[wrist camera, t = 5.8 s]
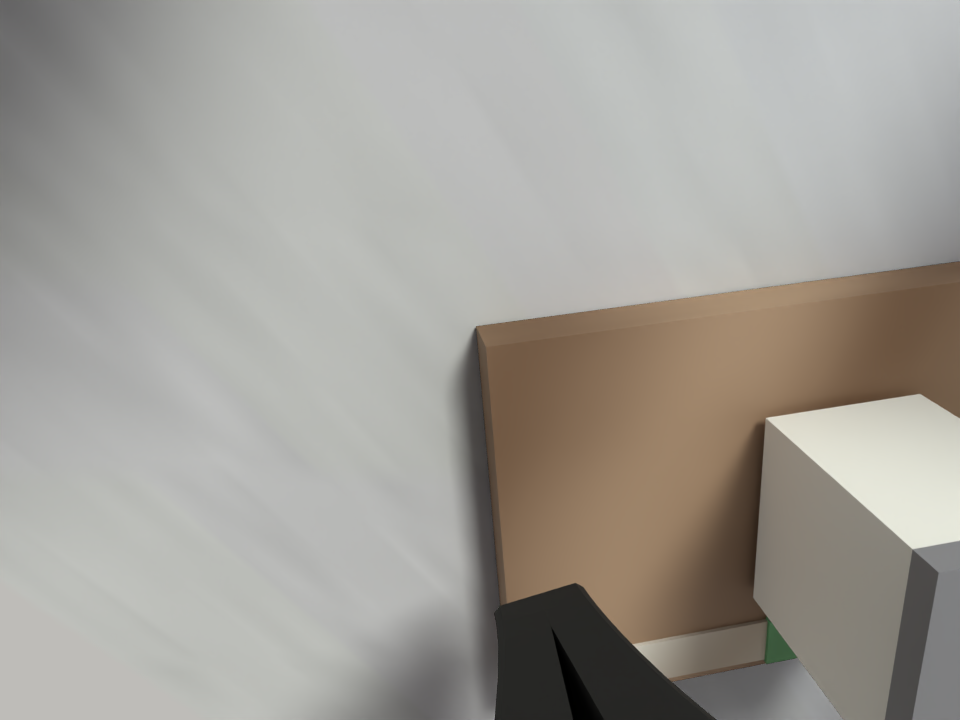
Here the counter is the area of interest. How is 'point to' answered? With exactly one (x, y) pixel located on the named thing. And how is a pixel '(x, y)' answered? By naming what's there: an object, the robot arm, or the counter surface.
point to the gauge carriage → (866, 553)
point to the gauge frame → (686, 442)
